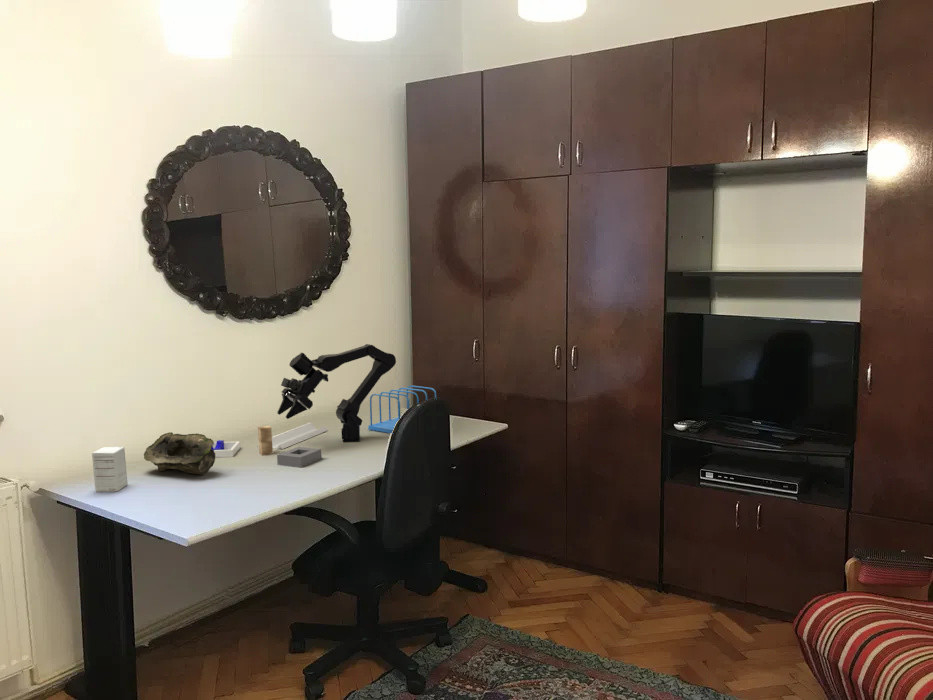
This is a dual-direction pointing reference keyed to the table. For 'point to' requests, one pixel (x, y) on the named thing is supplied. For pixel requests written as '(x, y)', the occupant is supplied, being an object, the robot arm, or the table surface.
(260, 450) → the tan wooden block
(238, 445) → the tray
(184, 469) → the hollow geode rock
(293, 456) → the end cap
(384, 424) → the file sorter
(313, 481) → the table surface
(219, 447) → the cable holder
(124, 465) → the supplement box
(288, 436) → the crown molding
